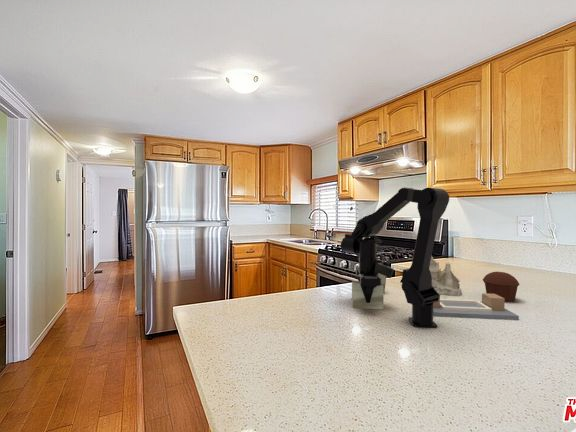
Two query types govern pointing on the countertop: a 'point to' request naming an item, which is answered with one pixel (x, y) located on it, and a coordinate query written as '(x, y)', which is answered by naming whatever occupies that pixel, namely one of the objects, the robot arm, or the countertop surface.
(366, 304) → the sage block
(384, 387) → the countertop surface
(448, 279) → the sandcastle
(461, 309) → the board
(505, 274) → the muffin
